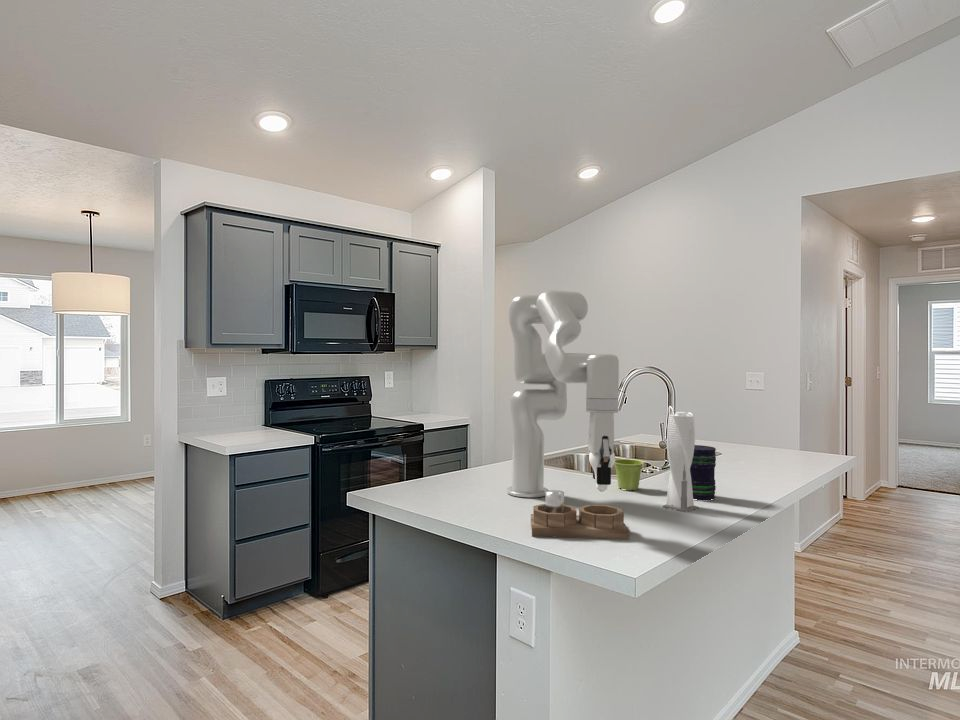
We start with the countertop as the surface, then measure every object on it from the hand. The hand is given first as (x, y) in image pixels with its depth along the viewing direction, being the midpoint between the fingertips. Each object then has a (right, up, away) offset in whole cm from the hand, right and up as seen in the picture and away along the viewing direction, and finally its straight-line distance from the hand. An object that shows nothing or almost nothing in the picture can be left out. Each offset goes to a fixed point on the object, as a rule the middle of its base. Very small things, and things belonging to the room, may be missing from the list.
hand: (601, 480), depth 140 cm
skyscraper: (+27, -13, +25) cm, 38 cm away
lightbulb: (0, -3, 0) cm, 3 cm away
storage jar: (+37, -13, +37) cm, 54 cm away
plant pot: (+18, -12, +47) cm, 52 cm away
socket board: (-6, -12, 0) cm, 13 cm away
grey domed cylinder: (-11, -10, +1) cm, 15 cm away
